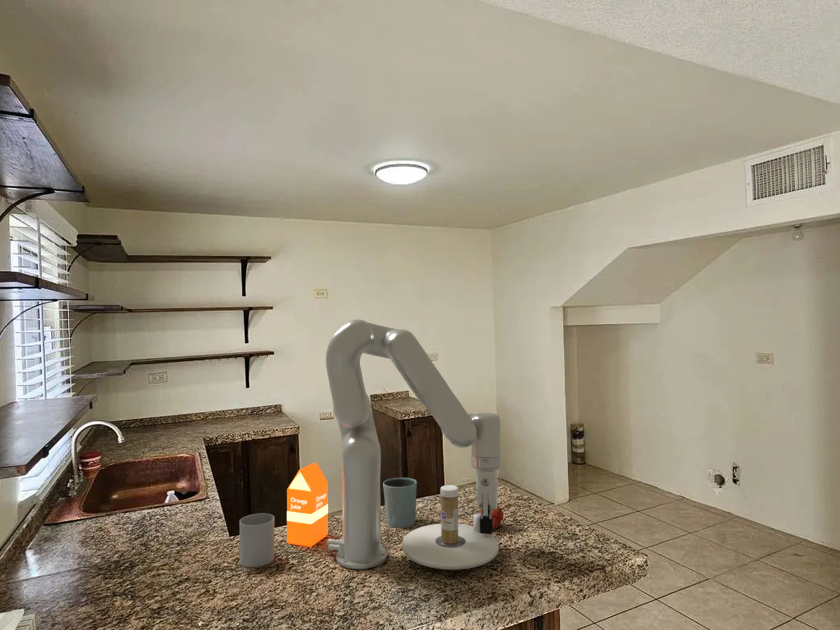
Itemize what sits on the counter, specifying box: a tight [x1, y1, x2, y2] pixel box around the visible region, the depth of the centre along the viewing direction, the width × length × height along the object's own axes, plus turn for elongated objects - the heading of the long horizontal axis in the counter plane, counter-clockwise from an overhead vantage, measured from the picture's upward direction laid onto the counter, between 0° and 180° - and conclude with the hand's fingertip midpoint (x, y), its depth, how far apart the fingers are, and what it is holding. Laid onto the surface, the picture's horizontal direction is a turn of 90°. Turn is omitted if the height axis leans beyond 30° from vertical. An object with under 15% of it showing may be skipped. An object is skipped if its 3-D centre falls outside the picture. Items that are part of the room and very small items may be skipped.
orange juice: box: [286, 461, 329, 548], centre depth 141 cm, size 8×9×20 cm
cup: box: [239, 513, 275, 568], centre depth 128 cm, size 8×8×10 cm
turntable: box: [402, 512, 499, 570], centre depth 129 cm, size 24×24×8 cm
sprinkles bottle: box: [439, 484, 459, 544], centre depth 129 cm, size 5×5×13 cm
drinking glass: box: [382, 477, 418, 529], centre depth 153 cm, size 10×10×12 cm
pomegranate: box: [478, 503, 505, 530], centre depth 148 cm, size 7×7×10 cm
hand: (486, 532), depth 133 cm, fingers closed
